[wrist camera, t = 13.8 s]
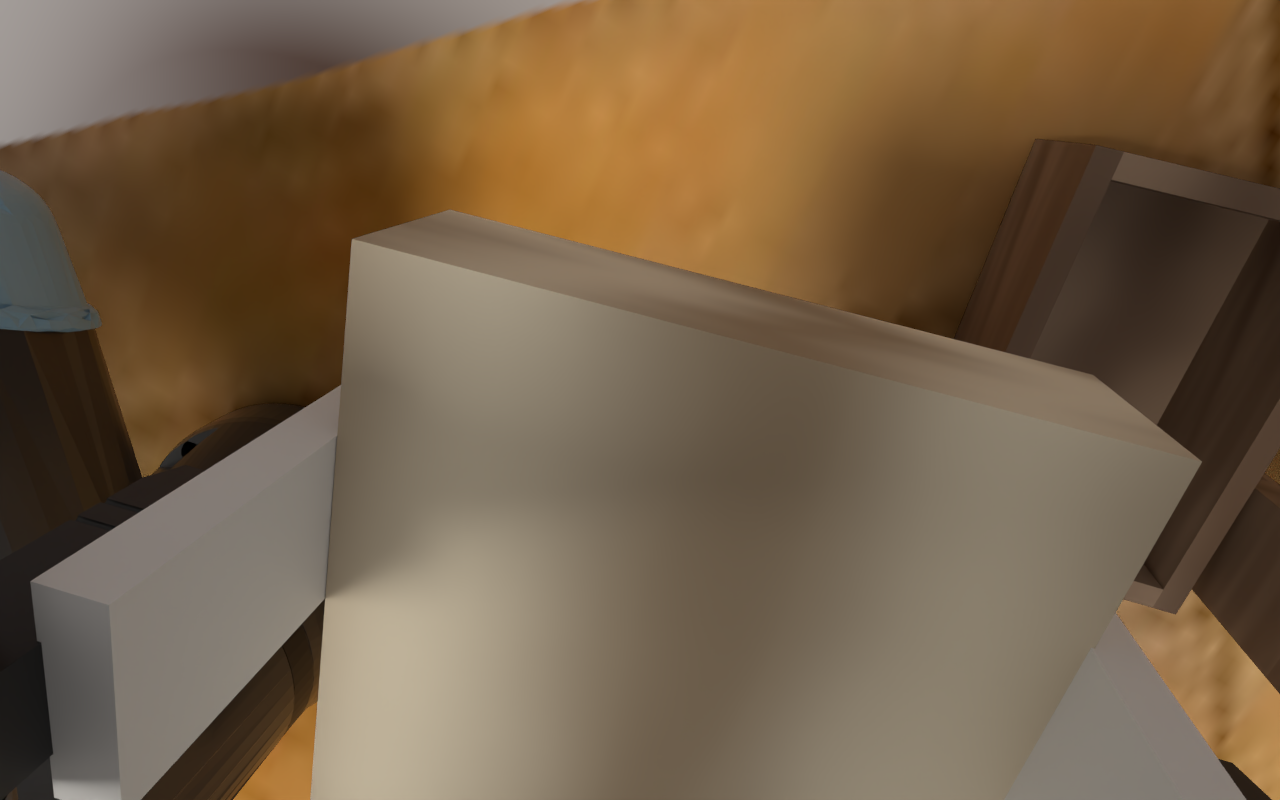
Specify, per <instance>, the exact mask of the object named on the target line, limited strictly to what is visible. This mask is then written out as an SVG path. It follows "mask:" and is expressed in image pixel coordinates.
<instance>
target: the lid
mask: <svg viewBox="0 0 1280 800" xmlns="http://www.w3.org/2000/svg"><path fill="white" fill-rule="evenodd" d="M1201 463H1202V461H1201V460H1199V459H1198V458H1197V457H1196V456H1194V455H1193V454H1192V453H1191V452H1189V451H1188V450H1187V449H1186V448H1184V447H1183V446H1182V445H1181V444H1179V443H1178V442H1177V441H1176V440H1174V439H1173V438H1172V437H1170V436H1169V435H1168V434H1167V433H1165V432H1164V431H1163V430H1162V429H1160V428H1159V427H1158V426H1157V425H1155V424H1154V423H1153V422H1152V421H1150V420H1149V419H1148V418H1147V417H1145V416H1144V415H1143V414H1142V413H1140V412H1139V411H1138V410H1137V409H1135V408H1134V407H1133V406H1132V405H1130V404H1129V403H1128V402H1126V401H1125V400H1124V399H1123V398H1121V397H1120V396H1119V395H1118V394H1116V393H1115V392H1114V391H1113V390H1111V389H1110V388H1109V387H1108V386H1106V385H1105V384H1104V383H1103V382H1101V381H1100V380H1099V379H1098V378H1096V377H1095V376H1094V375H1091V374H1087V373H1083V372H1080V371H1076V370H1072V369H1068V368H1064V367H1060V366H1056V365H1052V364H1048V363H1045V362H1041V361H1037V360H1033V359H1029V358H1025V357H1021V356H1017V355H1013V354H1010V353H1006V352H1002V351H998V350H994V349H990V348H986V347H982V346H978V345H975V344H971V343H967V342H963V341H959V340H955V339H951V338H947V337H943V336H940V335H936V334H932V333H928V332H924V331H920V330H916V329H912V328H908V327H905V326H901V325H897V324H893V323H889V322H885V321H881V320H877V319H873V318H870V317H866V316H862V315H858V314H854V313H850V312H846V311H842V310H838V309H834V308H831V307H827V306H823V305H819V304H815V303H811V302H807V301H803V300H799V299H796V298H792V297H788V296H784V295H780V294H776V293H772V292H768V291H764V290H761V289H757V288H753V287H749V286H745V285H741V284H737V283H733V282H729V281H726V280H722V279H718V278H714V277H710V276H706V275H702V274H698V273H694V272H691V271H687V270H683V269H679V268H675V267H671V266H667V265H663V264H659V263H656V262H652V261H648V260H644V259H640V258H636V257H632V256H628V255H624V254H621V253H617V252H613V251H609V250H605V249H601V248H597V247H593V246H589V245H585V244H582V243H578V242H574V241H570V240H566V239H562V238H558V237H554V236H550V235H547V234H543V233H539V232H535V231H531V230H527V229H523V228H519V227H515V226H512V225H508V224H504V223H500V222H496V221H492V220H488V219H484V218H480V217H477V216H473V215H469V214H465V213H461V212H457V211H453V210H447V211H444V212H441V213H437V214H434V215H431V216H427V217H424V218H421V219H417V220H414V221H410V222H407V223H404V224H400V225H397V226H394V227H390V228H387V229H383V230H380V231H377V232H373V233H370V234H367V235H363V236H360V237H357V238H353V239H352V243H351V257H350V271H349V284H348V298H347V311H346V325H345V338H344V352H343V365H342V379H341V392H340V406H339V419H338V433H337V447H336V460H335V474H334V487H333V501H332V514H331V528H330V541H329V555H328V568H327V582H326V596H325V609H324V623H323V636H322V650H321V663H320V677H319V690H318V704H317V717H316V731H315V745H314V758H313V772H312V785H311V799H310V800H1004V799H1005V797H1006V795H1007V794H1008V792H1009V790H1010V788H1011V787H1012V785H1013V783H1014V781H1015V780H1016V778H1017V776H1018V774H1019V773H1020V771H1021V769H1022V767H1023V766H1024V764H1025V762H1026V761H1027V759H1028V757H1029V755H1030V754H1031V752H1032V750H1033V748H1034V747H1035V745H1036V743H1037V741H1038V740H1039V738H1040V736H1041V734H1042V733H1043V731H1044V729H1045V727H1046V726H1047V724H1048V722H1049V720H1050V719H1051V717H1052V715H1053V713H1054V712H1055V710H1056V708H1057V706H1058V705H1059V703H1060V701H1061V699H1062V698H1063V696H1064V694H1065V692H1066V691H1067V689H1068V687H1069V685H1070V684H1071V682H1072V680H1073V678H1074V677H1075V675H1076V673H1077V672H1078V670H1079V668H1080V666H1081V665H1082V663H1083V661H1084V659H1085V658H1086V656H1087V654H1088V652H1089V651H1090V649H1091V648H1094V649H1095V647H1096V645H1097V644H1098V642H1099V640H1100V638H1101V637H1102V635H1103V633H1104V631H1105V630H1106V628H1107V626H1108V624H1109V623H1110V621H1111V619H1112V617H1113V616H1114V614H1115V612H1116V611H1117V609H1118V607H1119V605H1120V604H1121V602H1122V600H1123V598H1124V597H1125V595H1126V593H1127V591H1128V590H1129V588H1130V586H1131V584H1132V583H1133V581H1134V579H1135V578H1136V576H1137V574H1138V572H1139V571H1140V569H1141V567H1142V565H1143V564H1144V562H1145V560H1146V558H1147V557H1148V555H1149V553H1150V551H1151V550H1152V548H1153V546H1154V545H1155V543H1156V541H1157V539H1158V538H1159V536H1160V534H1161V532H1162V531H1163V529H1164V527H1165V525H1166V524H1167V522H1168V520H1169V518H1170V517H1171V515H1172V513H1173V512H1174V510H1175V508H1176V506H1177V505H1178V503H1179V501H1180V499H1181V498H1182V496H1183V494H1184V492H1185V491H1186V489H1187V487H1188V485H1189V484H1190V482H1191V480H1192V479H1193V477H1194V475H1195V473H1196V472H1197V470H1198V468H1199V466H1200V465H1201Z"/></svg>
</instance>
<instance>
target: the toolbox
mask: <svg viewBox="0 0 1280 800" xmlns="http://www.w3.org/2000/svg"><path fill="white" fill-rule="evenodd" d="M954 339H955V340H959V341H963V342H967V343H971V344H975V345H978V346H982V347H986V348H990V349H994V350H998V351H1002V352H1006V353H1010V354H1013V355H1017V356H1021V357H1025V358H1029V359H1033V360H1037V361H1041V362H1045V363H1048V364H1052V365H1056V366H1060V367H1064V368H1068V369H1072V370H1076V371H1080V372H1083V373H1087V374H1091V375H1094V376H1095V377H1096V378H1098V379H1099V380H1100V381H1101V382H1103V383H1104V384H1105V385H1106V386H1108V387H1109V388H1110V389H1111V390H1113V391H1114V392H1115V393H1116V394H1118V395H1119V396H1120V397H1121V398H1123V399H1124V400H1125V401H1126V402H1128V403H1129V404H1130V405H1132V406H1133V407H1134V408H1135V409H1137V410H1138V411H1139V412H1140V413H1142V414H1143V415H1144V416H1145V417H1147V418H1148V419H1149V420H1150V421H1152V422H1153V423H1154V424H1155V425H1157V426H1158V427H1159V428H1160V429H1162V430H1163V431H1164V432H1165V433H1167V434H1168V435H1169V436H1170V437H1172V438H1173V439H1174V440H1176V441H1177V442H1178V443H1179V444H1181V445H1182V446H1183V447H1184V448H1186V449H1187V450H1188V451H1189V452H1191V453H1192V454H1193V455H1194V456H1196V457H1197V458H1198V459H1199V460H1201V461H1202V463H1201V465H1200V466H1199V468H1198V470H1197V472H1196V473H1195V475H1194V477H1193V479H1192V480H1191V482H1190V484H1189V485H1188V487H1187V489H1186V491H1185V492H1184V494H1183V496H1182V498H1181V499H1180V501H1179V503H1178V505H1177V506H1176V508H1175V510H1174V512H1173V513H1172V515H1171V517H1170V518H1169V520H1168V522H1167V524H1166V525H1165V527H1164V529H1163V531H1162V532H1161V534H1160V536H1159V538H1158V539H1157V541H1156V543H1155V545H1154V546H1153V548H1152V550H1151V551H1150V553H1149V555H1148V557H1147V558H1146V560H1145V562H1144V564H1143V565H1142V567H1141V569H1140V571H1139V572H1138V574H1137V576H1136V578H1135V579H1134V581H1133V583H1132V584H1131V586H1130V588H1129V590H1128V591H1127V593H1126V595H1125V597H1124V598H1123V599H1124V600H1128V601H1131V602H1135V603H1138V604H1142V605H1145V606H1148V607H1152V608H1155V609H1159V610H1162V611H1166V612H1169V613H1172V614H1176V613H1177V612H1178V610H1179V608H1180V607H1181V605H1182V604H1183V602H1184V600H1185V599H1186V597H1187V596H1188V594H1189V592H1190V591H1191V589H1192V590H1193V591H1194V592H1195V593H1196V594H1197V596H1198V597H1199V598H1200V599H1201V600H1202V602H1203V603H1204V604H1205V605H1206V606H1207V608H1208V609H1209V610H1210V611H1211V612H1212V614H1213V615H1214V616H1215V617H1216V618H1217V620H1218V621H1219V622H1220V623H1221V624H1222V625H1223V627H1224V628H1225V629H1226V630H1227V631H1228V633H1229V634H1230V635H1231V636H1232V637H1233V639H1234V640H1235V641H1236V642H1237V643H1238V645H1239V646H1240V647H1241V648H1242V649H1243V651H1244V652H1245V653H1246V654H1247V655H1248V657H1249V658H1250V659H1251V660H1252V661H1253V662H1254V664H1255V665H1256V666H1257V667H1258V668H1259V670H1260V671H1261V672H1262V673H1263V674H1264V676H1265V677H1266V678H1267V679H1268V680H1269V682H1270V683H1271V684H1272V685H1273V686H1274V688H1275V689H1276V690H1277V691H1278V692H1279V694H1280V485H1279V484H1278V483H1276V482H1275V481H1274V480H1273V479H1271V478H1270V477H1269V476H1267V475H1266V474H1265V471H1266V470H1267V468H1268V466H1269V465H1270V463H1271V462H1272V460H1273V458H1274V457H1275V455H1276V454H1277V452H1278V450H1279V449H1280V189H1279V188H1275V187H1271V186H1266V185H1262V184H1258V183H1254V182H1250V181H1245V180H1241V179H1237V178H1233V177H1228V176H1224V175H1220V174H1216V173H1212V172H1207V171H1203V170H1199V169H1195V168H1191V167H1186V166H1182V165H1178V164H1174V163H1170V162H1165V161H1161V160H1157V159H1153V158H1148V157H1144V156H1140V155H1136V154H1132V153H1127V152H1123V151H1119V150H1115V149H1111V148H1106V147H1102V146H1098V145H1090V144H1081V143H1071V142H1061V141H1051V140H1041V139H1035V142H1034V144H1033V147H1032V149H1031V152H1030V154H1029V156H1028V159H1027V161H1026V164H1025V166H1024V169H1023V171H1022V174H1021V176H1020V178H1019V181H1018V183H1017V186H1016V188H1015V191H1014V193H1013V196H1012V198H1011V200H1010V203H1009V205H1008V208H1007V210H1006V213H1005V215H1004V218H1003V220H1002V223H1001V225H1000V227H999V230H998V232H997V235H996V237H995V240H994V242H993V245H992V247H991V249H990V252H989V254H988V257H987V259H986V262H985V264H984V267H983V269H982V272H981V274H980V276H979V279H978V281H977V284H976V286H975V289H974V291H973V294H972V296H971V298H970V301H969V303H968V306H967V308H966V311H965V313H964V316H963V318H962V321H961V323H960V325H959V328H958V330H957V333H956V335H955V338H954Z"/></svg>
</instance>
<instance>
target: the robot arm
mask: <svg viewBox="0 0 1280 800" xmlns="http://www.w3.org/2000/svg"><path fill="white" fill-rule="evenodd" d="M101 325H102V323H101V319H100V316H99V313H98V311H97V310H96V309H95V308H94V307H92V306H91V305H90V304H88V303H87V301H86V299H85V296H84V294H83V291H82V288H81V286H80V283H79V280H78V278H77V275H76V272H75V270H74V267H73V265H72V262H71V259H70V257H69V254H68V251H67V249H66V246H65V243H64V241H63V238H62V236H61V233H60V230H59V228H58V225H57V222H56V220H55V218H54V216H53V214H52V212H51V210H50V209H49V207H48V206H47V204H46V203H45V202H44V200H43V199H42V198H41V197H40V196H39V195H38V194H37V193H36V192H35V191H34V190H33V189H32V188H30V187H29V186H28V185H26V184H25V183H23V182H22V181H20V180H19V179H18V178H16V177H14V176H12V175H10V174H8V173H6V172H4V171H2V170H0V800H233V799H234V797H235V796H236V795H237V794H238V792H239V791H240V790H241V789H242V787H243V786H244V785H245V784H246V782H247V781H248V780H249V779H250V777H251V776H252V775H253V774H254V772H255V771H256V770H257V769H258V767H259V766H260V765H261V764H262V762H263V761H264V760H265V759H266V757H267V756H268V755H269V754H270V752H271V751H272V750H273V748H274V747H275V746H276V745H277V743H278V742H279V741H280V740H281V738H282V737H283V735H284V734H285V733H286V732H287V731H288V729H289V728H290V727H291V726H292V724H293V723H294V722H295V721H296V720H297V719H298V717H299V716H300V715H301V714H302V713H303V712H304V710H305V709H306V708H308V707H310V706H311V705H313V704H314V703H316V702H318V690H319V677H320V663H321V650H322V636H323V623H324V609H325V596H326V582H327V568H328V555H329V541H330V528H331V514H332V501H333V487H334V474H335V460H336V447H337V433H338V419H339V406H340V392H341V385H340V386H338V387H337V388H335V389H334V390H332V391H330V392H329V393H327V394H326V395H324V396H323V397H321V398H319V399H318V400H316V401H315V402H313V403H311V404H310V405H308V406H307V407H302V406H296V405H289V404H260V405H253V406H248V407H244V408H241V409H238V410H235V411H233V412H230V413H228V414H226V415H224V416H223V417H221V418H219V419H217V420H215V421H213V422H211V423H209V424H208V425H206V426H204V427H202V428H200V429H198V430H196V431H195V432H193V433H192V434H190V435H189V436H188V437H186V438H185V439H184V440H183V441H181V442H180V443H179V444H178V445H177V446H176V447H175V448H174V449H173V450H172V451H171V452H170V453H169V455H168V456H167V457H166V458H165V459H164V461H163V462H162V464H161V465H160V467H159V468H158V469H157V470H156V471H155V472H154V473H153V474H152V475H150V476H147V477H144V478H142V476H141V473H140V469H139V466H138V463H137V460H136V457H135V454H134V451H133V447H132V444H131V441H130V438H129V435H128V432H127V429H126V425H125V422H124V419H123V416H122V413H121V410H120V406H119V403H118V400H117V397H116V394H115V391H114V388H113V384H112V381H111V378H110V375H109V372H108V369H107V366H106V362H105V359H104V356H103V353H102V350H101V347H100V344H99V340H98V337H97V334H96V331H95V328H98V327H100V326H101ZM1004 800H1271V799H1270V798H1269V797H1268V796H1267V795H1266V794H1265V793H1264V792H1263V791H1262V790H1261V789H1260V788H1259V787H1258V786H1256V785H1255V784H1254V783H1253V782H1252V781H1251V780H1250V779H1249V778H1248V777H1247V776H1246V775H1245V774H1244V773H1243V772H1242V771H1240V770H1239V769H1238V768H1237V767H1236V766H1235V765H1234V764H1233V763H1231V762H1227V761H1224V760H1220V759H1218V758H1217V757H1216V755H1215V754H1214V753H1213V751H1212V750H1211V748H1210V747H1209V745H1208V744H1207V743H1206V741H1205V740H1204V738H1203V737H1202V735H1201V734H1200V733H1199V731H1198V730H1197V728H1196V727H1195V725H1194V724H1193V723H1192V721H1191V720H1190V718H1189V717H1188V715H1187V714H1186V713H1185V711H1184V710H1183V708H1182V707H1181V705H1180V704H1179V703H1178V701H1177V700H1176V698H1175V697H1174V695H1173V694H1172V693H1171V691H1170V690H1169V688H1168V687H1167V685H1166V684H1165V683H1164V681H1163V680H1162V678H1161V677H1160V675H1159V674H1158V673H1157V671H1156V670H1155V668H1154V667H1153V665H1152V664H1151V663H1150V661H1149V660H1148V658H1147V657H1146V655H1145V654H1144V653H1143V651H1142V650H1141V648H1140V647H1139V645H1138V644H1137V643H1136V641H1135V640H1134V638H1133V637H1132V635H1131V634H1130V633H1129V631H1128V630H1127V628H1126V627H1125V625H1124V624H1123V622H1122V621H1121V620H1120V618H1119V617H1118V615H1117V614H1116V612H1115V614H1114V616H1113V617H1112V619H1111V621H1110V623H1109V624H1108V626H1107V628H1106V630H1105V631H1104V633H1103V635H1102V637H1101V638H1100V640H1099V642H1098V644H1097V645H1096V647H1095V649H1094V648H1091V649H1090V651H1089V652H1088V654H1087V656H1086V658H1085V659H1084V661H1083V663H1082V665H1081V666H1080V668H1079V670H1078V672H1077V673H1076V675H1075V677H1074V678H1073V680H1072V682H1071V684H1070V685H1069V687H1068V689H1067V691H1066V692H1065V694H1064V696H1063V698H1062V699H1061V701H1060V703H1059V705H1058V706H1057V708H1056V710H1055V712H1054V713H1053V715H1052V717H1051V719H1050V720H1049V722H1048V724H1047V726H1046V727H1045V729H1044V731H1043V733H1042V734H1041V736H1040V738H1039V740H1038V741H1037V743H1036V745H1035V747H1034V748H1033V750H1032V752H1031V754H1030V755H1029V757H1028V759H1027V761H1026V762H1025V764H1024V766H1023V767H1022V769H1021V771H1020V773H1019V774H1018V776H1017V778H1016V780H1015V781H1014V783H1013V785H1012V787H1011V788H1010V790H1009V792H1008V794H1007V795H1006V797H1005V799H1004Z"/></svg>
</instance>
